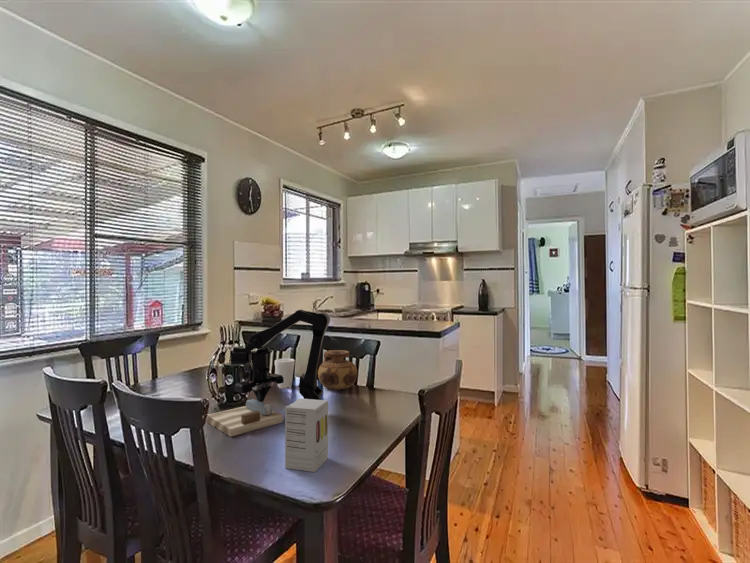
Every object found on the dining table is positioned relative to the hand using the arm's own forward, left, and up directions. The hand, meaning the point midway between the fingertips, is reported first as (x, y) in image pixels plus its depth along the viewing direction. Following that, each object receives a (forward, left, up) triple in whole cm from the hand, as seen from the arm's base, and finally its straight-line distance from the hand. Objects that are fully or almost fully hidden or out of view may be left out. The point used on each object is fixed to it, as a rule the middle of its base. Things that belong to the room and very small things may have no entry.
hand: (260, 405), depth 154 cm
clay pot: (+10, -46, -4) cm, 47 cm away
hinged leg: (-3, +2, -1) cm, 4 cm away
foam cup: (+30, -29, -4) cm, 42 cm away
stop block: (-12, +10, -1) cm, 16 cm away
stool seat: (-3, +8, -4) cm, 9 cm away
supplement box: (-47, +11, -4) cm, 49 cm away
